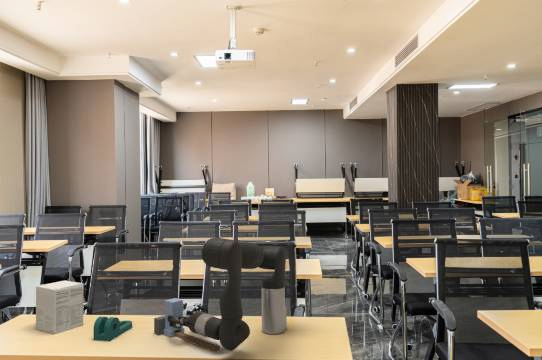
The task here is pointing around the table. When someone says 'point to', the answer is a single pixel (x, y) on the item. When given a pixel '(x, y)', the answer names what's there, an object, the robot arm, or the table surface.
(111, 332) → the bracket
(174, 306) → the block
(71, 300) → the supplement box
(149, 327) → the table surface
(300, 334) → the table surface
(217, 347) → the rail
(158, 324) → the stop block
